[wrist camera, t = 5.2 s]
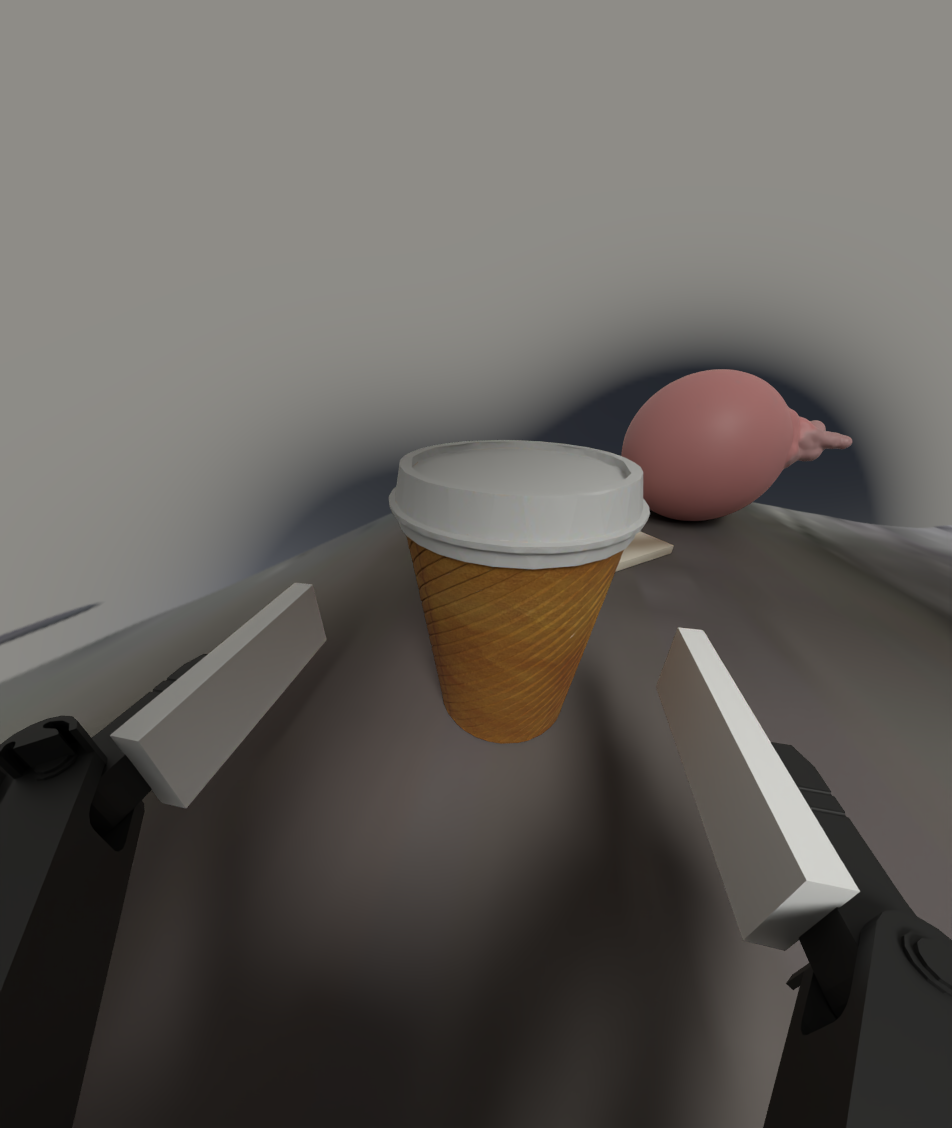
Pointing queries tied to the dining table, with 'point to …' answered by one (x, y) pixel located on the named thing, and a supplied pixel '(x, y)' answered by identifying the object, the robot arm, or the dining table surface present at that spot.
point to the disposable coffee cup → (513, 569)
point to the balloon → (718, 443)
